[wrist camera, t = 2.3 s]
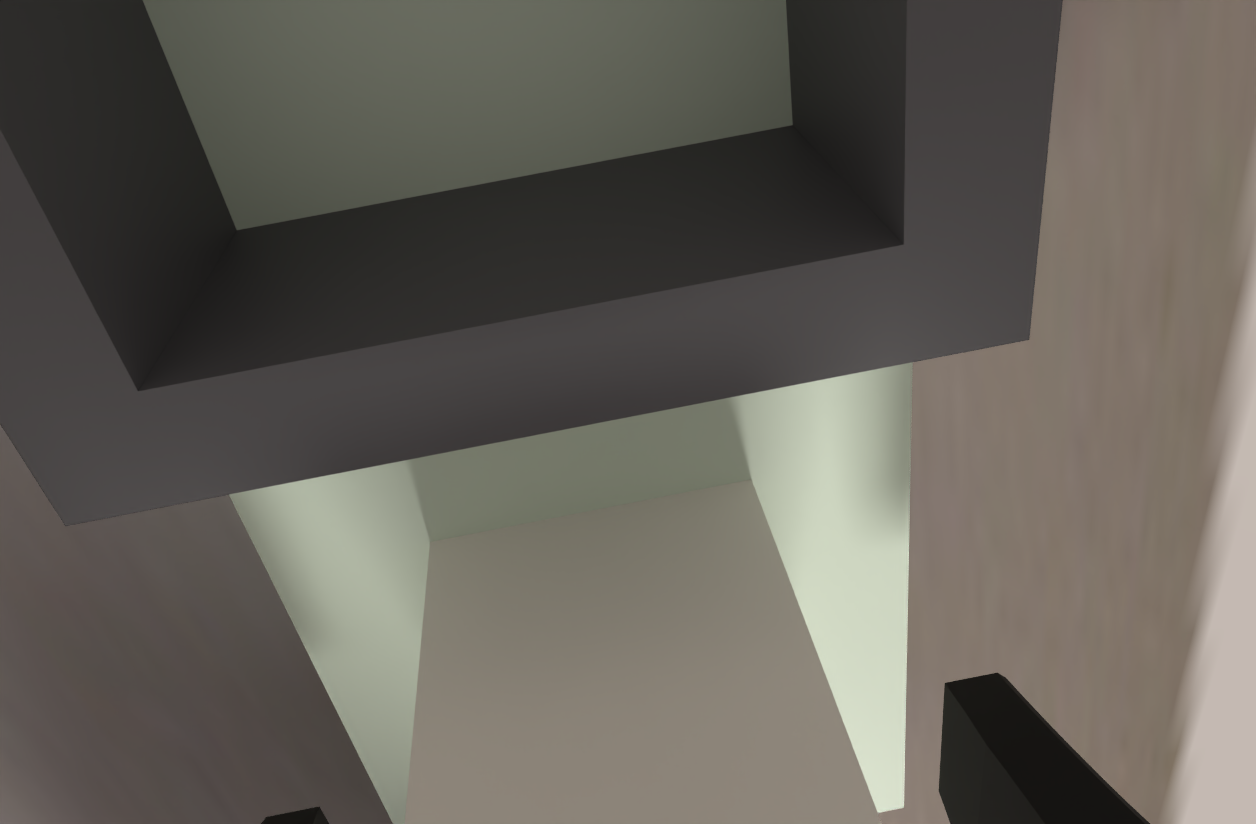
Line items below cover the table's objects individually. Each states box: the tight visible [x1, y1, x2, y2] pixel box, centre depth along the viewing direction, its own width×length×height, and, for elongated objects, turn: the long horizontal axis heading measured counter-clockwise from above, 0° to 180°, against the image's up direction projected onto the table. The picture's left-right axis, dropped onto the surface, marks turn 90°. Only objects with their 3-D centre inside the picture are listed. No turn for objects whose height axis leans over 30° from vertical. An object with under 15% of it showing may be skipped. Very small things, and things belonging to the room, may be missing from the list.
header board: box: [0, 0, 1063, 824], centre depth 9 cm, size 20×8×4 cm, turn 9°
